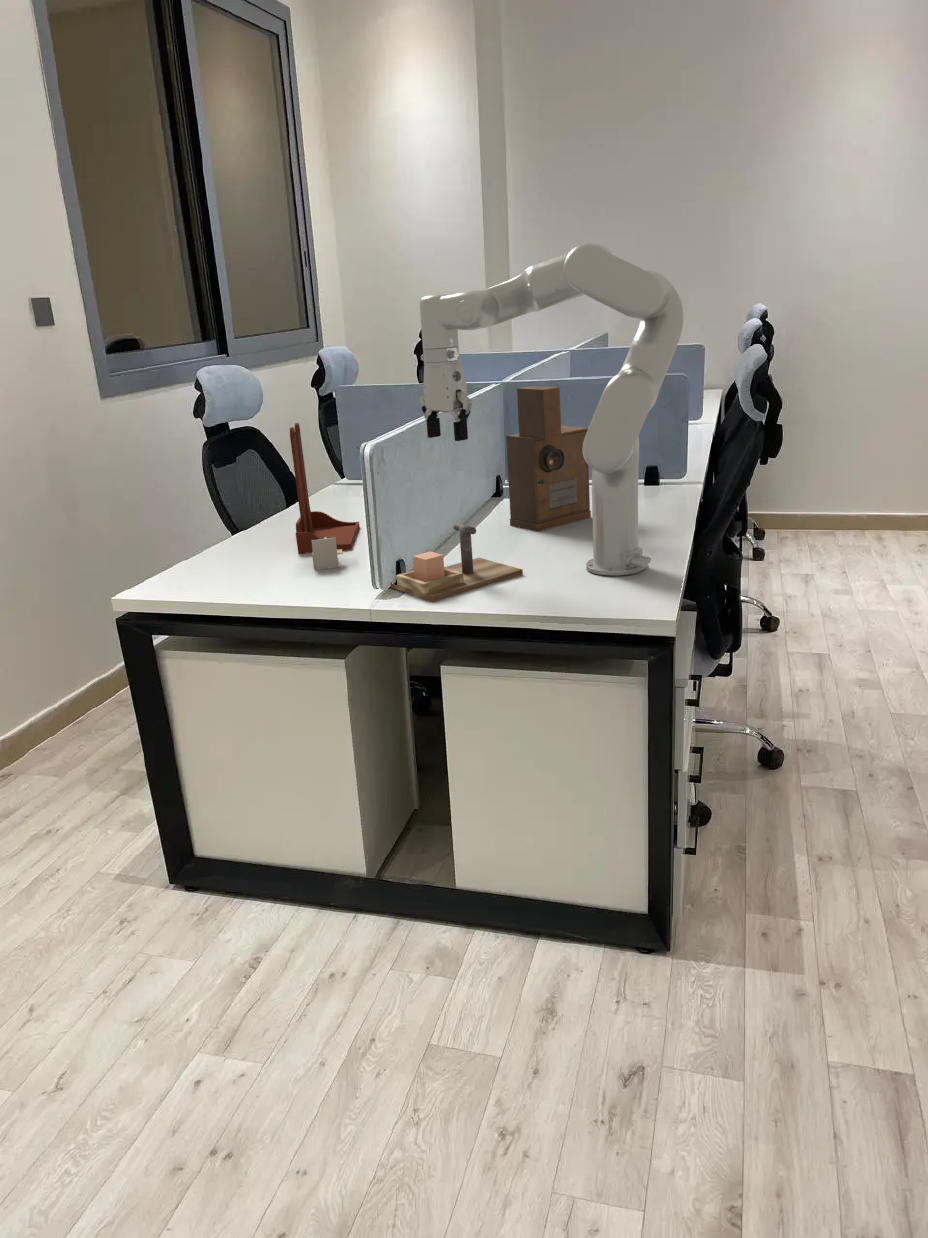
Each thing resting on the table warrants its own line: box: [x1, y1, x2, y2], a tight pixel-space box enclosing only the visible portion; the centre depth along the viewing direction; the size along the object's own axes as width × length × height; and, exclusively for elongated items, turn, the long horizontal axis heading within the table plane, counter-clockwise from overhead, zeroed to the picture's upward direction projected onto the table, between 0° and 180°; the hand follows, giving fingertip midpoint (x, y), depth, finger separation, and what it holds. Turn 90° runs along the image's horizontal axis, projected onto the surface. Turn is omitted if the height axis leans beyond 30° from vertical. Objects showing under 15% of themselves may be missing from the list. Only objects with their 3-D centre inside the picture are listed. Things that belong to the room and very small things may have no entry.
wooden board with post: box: [390, 523, 524, 603], centre depth 196 cm, size 15×24×12 cm, turn 128°
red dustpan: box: [289, 422, 360, 555], centre depth 236 cm, size 24×13×30 cm, turn 1°
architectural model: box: [311, 537, 344, 571], centre depth 216 cm, size 3×7×7 cm, turn 100°
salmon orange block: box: [412, 551, 445, 582], centre depth 193 cm, size 4×4×6 cm
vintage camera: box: [505, 385, 592, 533], centre depth 236 cm, size 19×14×35 cm
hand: (447, 438), depth 201 cm, fingers open, 9 cm apart
